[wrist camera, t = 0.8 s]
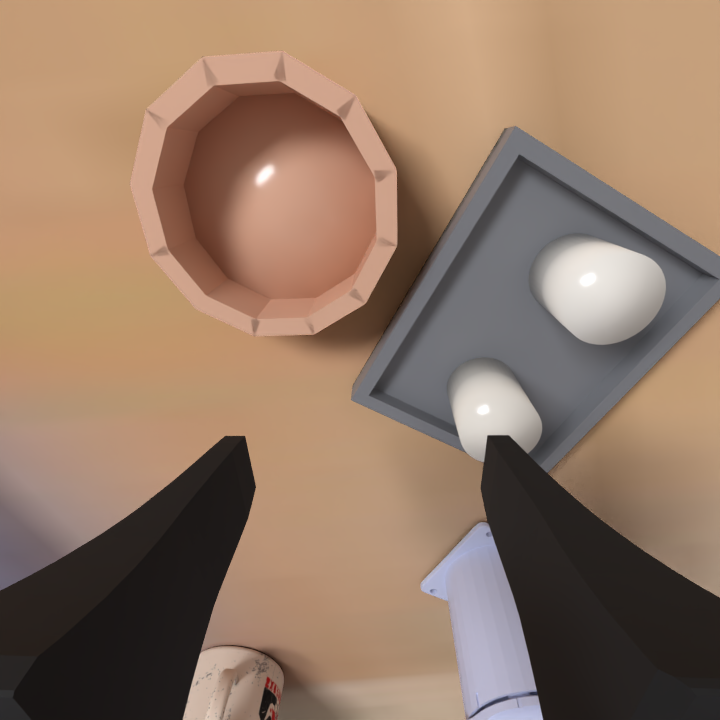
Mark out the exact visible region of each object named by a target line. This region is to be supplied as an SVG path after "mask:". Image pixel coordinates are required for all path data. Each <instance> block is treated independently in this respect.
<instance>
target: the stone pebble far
mask: <svg viewBox="0 0 720 720" xmlns="http://www.w3.org/2000/svg"><path fill="white" fill-rule="evenodd" d="M447 395H448V399H449V402H450V406H451V409H452V413H453V417H454V420H455V424H456V427H457V431H458V434H459V438H460V441H461V444H462V447H463V448H464V450H465V451H466V452H467V453H468V454H469V455H470V456H471V457H472V458H474V459H476V460H478V461H481V462H484V458H485V450H486V442H487V435H509V436H510V437H511V438H512V439H513V440H514V441H515V442H516V443H517V444H518V445H519V446H520V447H521V448H522V449H523V450H524V451H525V452H526V453H527V454H528V453H529V452H530V451H531V450H532V449H533V448H534V447H535V446H536V444H537V443H538V441H539V439H540V437H541V433H542V422H541V419H540V417H539V415H538V413H537V411H536V410H535V408H534V407H533V405H532V403H531V402H530V400H529V398H528V397H527V395H526V394H525V392H524V390H523V389H522V387H521V385H520V384H519V382H518V381H517V379H516V377H515V376H514V374H513V372H512V371H511V369H510V368H509V367H508V366H507V365H506V364H505V363H503V362H501V361H499V360H497V359H494V358H486V357H482V358H475V359H472V360H469V361H467V362H465V363H463V364H461V365H460V366H459V367H458V368H456V369H455V370H454V372H453V373H452V374H451V376H450V378H449V380H448V383H447Z"/></svg>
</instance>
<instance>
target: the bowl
mask: <svg viewBox="0 0 720 720" xmlns="http://www.w3.org/2000/svg"><path fill="white" fill-rule="evenodd" d="M130 187H131V190H132V194H133V197H134V201H135V204H136V208H137V211H138V215H139V218H140V222H141V225H142V229H143V232H144V236H145V239H146V243H147V246H148V250H149V253H150V256H151V257H152V259H153V260H154V261H155V262H156V263H157V264H158V266H159V267H160V268H161V269H162V270H163V271H164V273H165V274H166V275H167V276H168V277H169V278H170V280H171V281H172V282H173V283H174V284H175V285H176V287H177V288H178V289H179V290H180V291H181V292H182V294H183V295H184V296H185V297H186V298H187V299H188V301H189V302H190V303H191V304H192V305H193V306H194V308H195V309H197V310H199V311H201V312H203V313H205V314H207V315H209V316H212V317H214V318H216V319H218V320H220V321H222V322H224V323H227V324H229V325H231V326H233V327H235V328H237V329H239V330H242V331H244V332H246V333H248V334H250V335H252V336H282V335H314V334H316V333H318V332H319V331H321V330H323V329H324V328H326V327H328V326H329V325H331V324H333V323H334V322H336V321H338V320H339V319H341V318H343V317H344V316H346V315H348V314H349V313H351V312H353V311H354V310H356V309H358V308H359V307H361V306H363V305H364V304H366V302H367V300H368V298H369V297H370V295H371V293H372V291H373V289H374V287H375V286H376V284H377V282H378V280H379V278H380V276H381V275H382V273H383V271H384V269H385V267H386V266H387V264H388V262H389V260H390V258H391V256H392V255H393V253H394V251H395V249H396V247H397V169H396V167H395V165H394V164H393V162H392V160H391V158H390V156H389V154H388V153H387V151H386V149H385V147H384V145H383V143H382V142H381V140H380V138H379V136H378V134H377V132H376V131H375V129H374V127H373V125H372V123H371V121H370V120H369V118H368V116H367V114H366V112H365V110H364V109H363V107H362V105H361V103H360V101H359V99H358V98H357V96H356V95H355V94H353V93H352V92H350V91H348V90H347V89H345V88H343V87H342V86H340V85H338V84H337V83H335V82H334V81H332V80H330V79H329V78H327V77H325V76H324V75H322V74H320V73H319V72H317V71H315V70H314V69H312V68H310V67H309V66H307V65H305V64H304V63H302V62H300V61H299V60H297V59H295V58H294V57H292V56H291V55H289V54H287V53H286V52H284V51H271V52H258V53H244V54H231V55H217V56H204V57H201V58H200V59H199V60H198V61H197V62H196V63H195V64H194V65H193V66H192V67H191V68H189V69H188V70H187V71H186V72H185V73H184V74H183V75H182V76H181V77H180V78H179V79H178V80H177V81H176V82H175V83H173V84H172V85H171V86H170V87H169V88H168V89H167V90H166V91H165V92H164V93H163V94H162V95H161V96H160V97H158V98H157V99H156V100H155V101H154V102H153V103H152V104H151V105H150V106H149V107H148V108H147V109H146V112H145V116H144V121H143V125H142V130H141V135H140V139H139V144H138V149H137V153H136V158H135V162H134V167H133V172H132V176H131V181H130Z"/></svg>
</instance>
